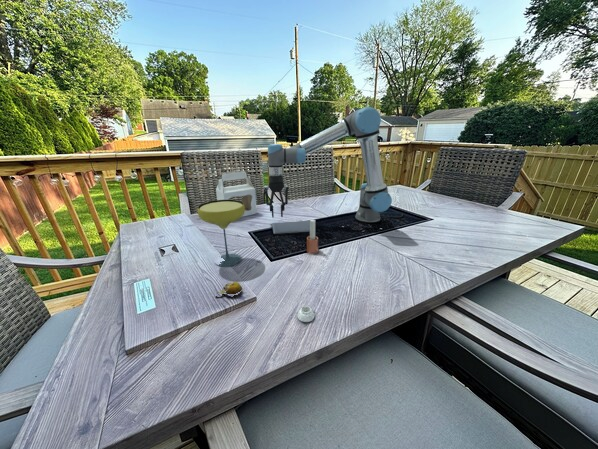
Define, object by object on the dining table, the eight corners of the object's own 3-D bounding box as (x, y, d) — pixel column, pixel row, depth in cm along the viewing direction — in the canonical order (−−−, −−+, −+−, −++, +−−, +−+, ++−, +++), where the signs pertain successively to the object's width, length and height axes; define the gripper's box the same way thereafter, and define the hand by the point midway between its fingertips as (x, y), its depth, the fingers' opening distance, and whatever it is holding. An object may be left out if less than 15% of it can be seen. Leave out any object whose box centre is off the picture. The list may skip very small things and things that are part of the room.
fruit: (227, 283, 91) (226, 275, 89) (247, 287, 88) (246, 279, 87) (213, 297, 83) (211, 288, 82) (234, 302, 81) (233, 293, 80)
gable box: (248, 209, 178) (245, 169, 169) (257, 213, 169) (254, 172, 159) (218, 215, 166) (213, 173, 156) (226, 220, 156) (221, 175, 146)
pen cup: (316, 248, 117) (316, 235, 115) (319, 253, 113) (319, 239, 110) (305, 249, 117) (305, 236, 114) (307, 254, 112) (308, 240, 109)
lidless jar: (300, 309, 77) (295, 320, 73) (300, 302, 76) (294, 312, 72) (316, 313, 76) (311, 324, 71) (316, 305, 75) (311, 316, 70)
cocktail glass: (226, 276, 96) (218, 215, 87) (196, 263, 105) (187, 207, 96) (257, 257, 110) (253, 203, 101) (228, 247, 119) (222, 197, 110)
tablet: (309, 222, 152) (309, 220, 152) (315, 232, 136) (315, 230, 136) (271, 224, 149) (271, 222, 148) (273, 235, 133) (273, 233, 133)
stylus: (314, 249, 116) (314, 219, 110) (315, 251, 114) (316, 221, 108) (309, 249, 115) (309, 219, 110) (310, 252, 113) (310, 221, 108)
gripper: (259, 176, 126) (261, 219, 134) (293, 175, 128) (293, 217, 136) (259, 174, 133) (261, 215, 141) (291, 173, 135) (291, 213, 143)
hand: (277, 216), depth 139 cm, fingers open, 4 cm apart
